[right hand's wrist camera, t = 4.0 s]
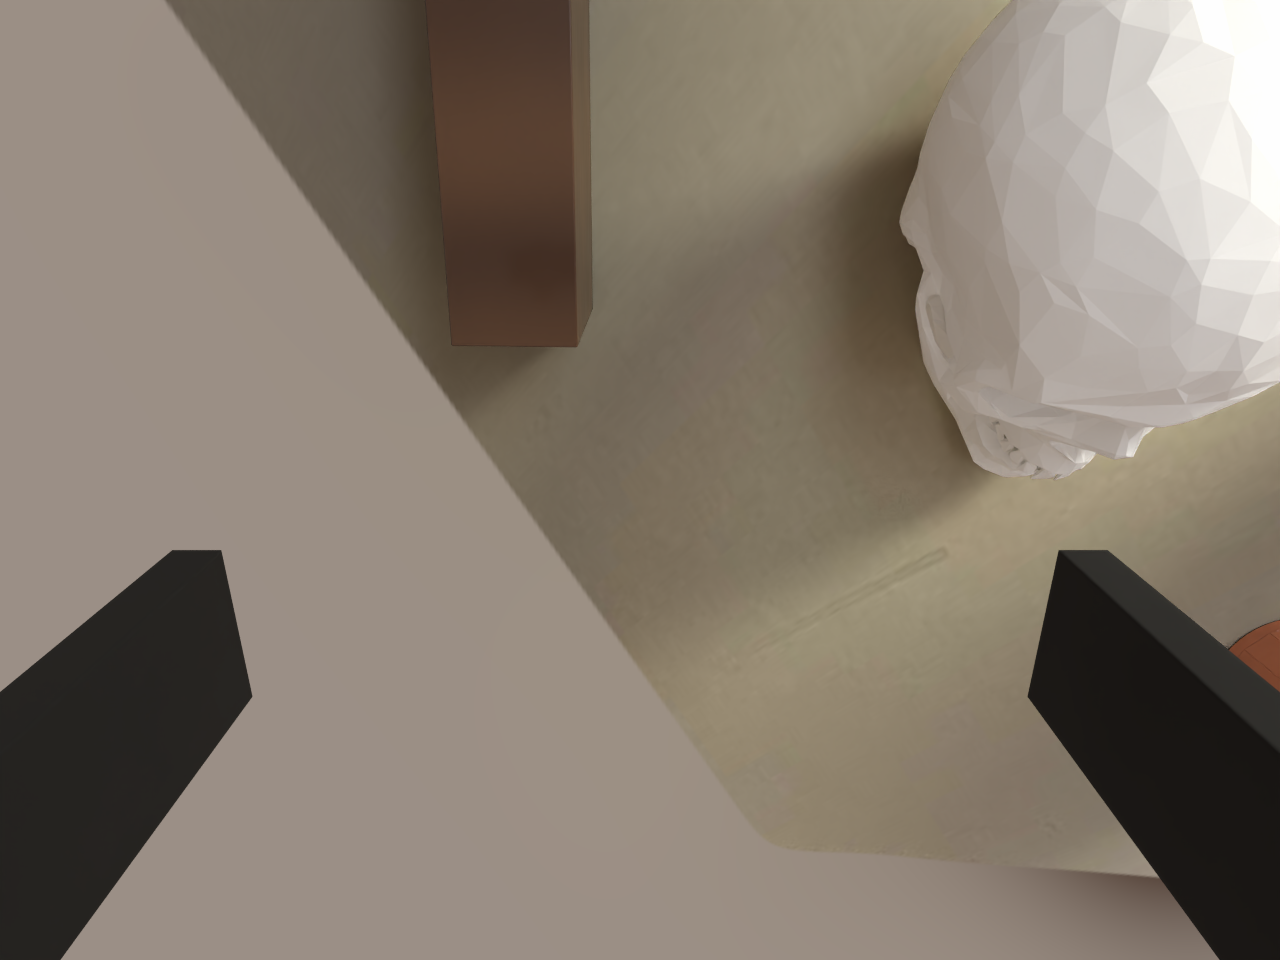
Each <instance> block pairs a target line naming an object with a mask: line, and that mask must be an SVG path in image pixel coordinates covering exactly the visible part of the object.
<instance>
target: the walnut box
mask: <svg viewBox="0 0 1280 960" xmlns="http://www.w3.org/2000/svg"><path fill="white" fill-rule="evenodd" d="M425 5H426V18H427V31H428V44H429V57H430V70H431V84H432V97H433V110H434V123H435V136H436V149H437V162H438V175H439V188H440V201H441V214H442V227H443V240H444V253H445V266H446V279H447V292H448V305H449V318H450V331H451V344H452V345H453V346H520V347H577V346H578V344H579V341H580V339H581V336H582V334H583V331H584V329H585V326H586V324H587V321H588V319H589V316H590V314H591V311H592V309H593V301H592V216H591V132H590V48H589V0H425Z"/></svg>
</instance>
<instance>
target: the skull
mask: <svg viewBox="0 0 1280 960" xmlns="http://www.w3.org/2000/svg"><path fill="white" fill-rule="evenodd" d="M899 223H900V227H901V230H902V233H903V235H904V236H906V238H907V241H908V243H909V244H910V245H912V246H913V247H915V248H916V250H917V253H918V256H919V259H920V262H921V265H922V268H923V270H924V271H923V275H922V278H921V281H920V285H919V288H918V292H917V295H916V306H915V312H916V318H917V325H918V330H919V338H920V344H921V350H922V356H923V362H924V365H925V367H926V369H927V371H928V374H929V376H930V378H931V380H932V382H933V384H934V386H935V388H936V389H937V391H938V392H939V394H940V396H941V397H942V399H943V400H944V402H945V404H946V405H947V407H948V408H949V410H950V412H951V413H952V415H953V416H954V418H955V420H956V422H957V424H958V427H959V429H960V431H961V434H962V436H963V438H964V441H965V443H966V445H967V447H968V450H969V452H970V454H971V457H972V459H973V461H974V462H975V463H976V464H977V465H979V466H980V467H981V468H983V469H985V470H987V471H990V472H992V473H995V474H997V475H1000V476H1003V477H1021V476H1028V475H1032V474H1034V475H1033V476H1032V477H1030V478H1031V479H1050V478H1052V477H1055V474H1057V475H1056V477H1055V478H1054V479H1053V480H1057V479H1060V478H1063V477H1067V476H1069V475H1070V474H1071V473H1072V472H1074V471H1076V470H1080V469H1082V468H1083V467H1084V466H1085V465H1086V464H1087V463H1089V462H1090V461H1091V459H1092V458H1093V457H1094V456H1095V455H1096V454H1097V453H1098V454H1100V455H1103V456H1106V457H1108V458H1111V459H1122V458H1130V457H1133V456H1134V454H1135V452H1136V450H1137V448H1138V446H1139V444H1140V441H1141V439H1142V437H1144V436H1145V435H1146V434H1147V433H1149V432H1150V431H1151V430H1152V429H1154V428H1155V427H1168V426H1173V425H1178V424H1182V423H1185V422H1189V421H1192V420H1195V419H1198V418H1200V417H1203V416H1206V415H1208V414H1211V413H1213V412H1216V411H1218V410H1221V409H1223V408H1226V407H1228V406H1231V405H1233V404H1235V403H1238V402H1240V401H1243V400H1245V399H1248V398H1250V397H1253V396H1255V395H1257V394H1259V393H1260V392H1262V391H1264V390H1266V389H1268V388H1270V387H1272V386H1274V385H1276V384H1277V383H1279V382H1280V0H1012V1H1011V2H1010V3H1009V4H1008V5H1007V6H1006V7H1005V8H1004V9H1003V10H1002V11H1001V12H1000V13H999V14H998V15H997V16H996V17H995V18H994V19H993V21H992V22H991V23H990V24H989V25H988V27H987V28H986V29H985V30H984V31H983V33H982V34H981V35H980V36H979V38H978V39H977V40H976V41H975V42H974V44H973V45H972V46H971V47H970V49H969V50H968V51H967V52H966V54H965V55H964V57H963V58H962V60H961V61H960V63H959V64H958V66H957V68H956V69H955V71H954V72H953V74H952V76H951V77H950V79H949V81H948V83H947V86H946V88H945V90H944V92H943V94H942V96H941V99H940V101H939V103H938V105H937V107H936V110H935V112H934V114H933V116H932V119H931V121H930V124H929V126H928V129H927V133H926V136H925V139H924V142H923V145H922V149H921V152H920V156H919V162H918V167H917V170H916V173H915V176H914V178H913V181H912V183H911V185H910V188H909V191H908V194H907V196H906V199H905V202H904V205H903V208H902V210H901V215H900V221H899ZM1004 434H1005V435H1004Z"/></svg>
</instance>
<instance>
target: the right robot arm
mask: <svg viewBox="0 0 1280 960" xmlns="http://www.w3.org/2000/svg"><path fill="white" fill-rule="evenodd" d="M251 698H252V693H251V688H250V683H249V679H248V674H247V669H246V664H245V660H244V655H243V650H242V646H241V641H240V636H239V631H238V627H237V622H236V617H235V613H234V608H233V603H232V599H231V594H230V589H229V584H228V580H227V575H226V570H225V566H224V561H223V556H222V552H221V550H172V551H171V552H170V553H168V554H167V555H166V556H165V557H164V558H162V559H161V560H160V561H159V562H158V563H156V564H155V565H154V566H153V567H152V568H150V569H149V570H148V571H147V572H145V573H144V574H143V575H142V576H141V577H139V578H138V579H137V580H136V581H135V582H133V583H132V584H131V585H130V586H128V587H127V588H126V589H125V590H124V591H122V592H121V593H120V594H119V595H117V596H116V597H115V598H114V599H113V600H111V601H110V602H109V603H108V604H107V605H105V606H104V607H103V608H102V609H100V610H99V611H98V612H97V613H96V614H94V615H93V616H92V617H91V618H90V619H88V620H87V621H86V622H85V623H83V624H82V625H81V626H80V627H79V628H77V629H76V630H75V631H74V632H73V633H71V634H70V635H69V636H68V637H66V638H65V639H64V640H63V641H62V642H60V643H59V644H58V645H57V646H56V647H54V648H53V649H52V650H51V651H49V652H48V653H47V654H46V655H45V656H43V657H42V658H41V659H40V660H39V661H37V662H36V663H35V664H34V665H32V666H31V667H30V668H29V669H28V670H26V671H25V672H24V673H23V674H21V675H20V676H19V677H18V678H17V679H15V680H14V681H13V682H12V683H11V684H9V685H8V686H7V687H6V688H5V689H3V690H2V691H1V692H0V960H61V958H62V957H63V956H64V954H65V953H66V951H67V950H68V949H69V947H70V946H71V945H72V943H73V942H74V940H75V939H76V938H77V936H78V935H79V934H80V932H81V931H82V929H83V928H84V927H85V925H86V924H87V923H88V921H89V920H90V919H91V917H92V916H93V914H94V913H95V912H96V910H97V909H98V908H99V906H100V905H101V903H102V902H103V901H104V899H105V898H106V897H107V895H108V894H109V892H110V891H111V890H112V888H113V887H114V886H115V884H116V883H117V881H118V880H119V879H120V877H121V876H122V875H123V873H124V872H125V870H126V869H127V868H128V866H129V865H130V864H131V862H132V861H133V860H134V858H135V857H136V855H137V854H138V853H139V851H140V850H141V849H142V847H143V846H144V844H145V843H146V842H147V840H148V839H149V838H150V836H151V835H152V834H153V832H154V831H155V829H156V828H157V827H158V825H159V824H160V823H161V821H162V820H163V818H164V817H165V816H166V814H167V813H168V812H169V810H170V809H171V807H172V806H173V805H174V803H175V802H176V801H177V799H178V798H179V796H180V795H181V794H182V792H183V791H184V790H185V788H186V787H187V786H188V784H189V783H190V781H191V780H192V779H193V777H194V776H195V774H196V773H197V772H198V770H199V769H200V768H201V766H202V765H203V764H204V762H205V761H206V759H207V758H208V757H209V755H210V754H211V753H212V751H213V750H214V748H215V747H216V746H217V744H218V743H219V742H220V740H221V739H222V737H223V736H224V735H225V733H226V732H227V731H228V729H229V728H230V727H231V725H232V724H233V722H234V721H235V720H236V718H237V717H238V716H239V714H240V713H241V712H242V710H243V709H244V707H245V706H246V705H247V703H248V702H249V701H250V699H251ZM1028 698H1029V699H1030V701H1031V702H1032V703H1033V705H1034V706H1035V707H1036V709H1037V710H1038V712H1039V713H1040V714H1041V716H1042V717H1043V718H1044V720H1045V721H1046V722H1047V724H1048V725H1049V727H1050V728H1051V729H1052V731H1053V732H1054V733H1055V735H1056V736H1057V738H1058V739H1059V740H1060V742H1061V743H1062V744H1063V746H1064V747H1065V749H1066V750H1067V751H1068V753H1069V754H1070V755H1071V757H1072V758H1073V760H1074V761H1075V762H1076V764H1077V765H1078V766H1079V768H1080V769H1081V770H1082V772H1083V773H1084V775H1085V776H1086V777H1087V779H1088V780H1089V781H1090V783H1091V784H1092V786H1093V787H1094V788H1095V790H1096V791H1097V792H1098V794H1099V795H1100V797H1101V798H1102V799H1103V801H1104V802H1105V803H1106V805H1107V806H1108V807H1109V809H1110V810H1111V812H1112V813H1113V814H1114V816H1115V817H1116V818H1117V820H1118V821H1119V823H1120V824H1121V825H1122V827H1123V828H1124V829H1125V831H1126V832H1127V834H1128V835H1129V836H1130V838H1131V839H1132V840H1133V842H1134V843H1135V844H1136V846H1137V847H1138V849H1139V850H1140V851H1141V853H1142V854H1143V855H1144V857H1145V858H1146V860H1147V861H1148V862H1149V864H1150V865H1151V866H1152V868H1153V869H1154V871H1155V872H1156V873H1157V875H1158V876H1159V877H1160V879H1161V880H1162V882H1163V883H1164V884H1165V886H1166V887H1167V888H1168V890H1169V891H1170V892H1171V894H1172V895H1173V897H1174V898H1175V899H1176V901H1177V902H1178V903H1179V905H1180V906H1181V907H1182V909H1183V910H1184V912H1185V913H1186V914H1187V916H1188V917H1189V919H1190V920H1191V921H1192V923H1193V924H1194V925H1195V927H1196V928H1197V929H1198V931H1199V932H1200V934H1201V935H1202V936H1203V938H1204V939H1205V940H1206V942H1207V943H1208V944H1209V946H1210V947H1211V949H1212V950H1213V951H1214V953H1215V954H1216V956H1217V957H1218V958H1219V960H1280V692H1279V691H1278V690H1277V689H1276V688H1274V687H1273V686H1272V685H1271V684H1269V683H1268V682H1267V681H1266V680H1265V679H1263V678H1262V677H1261V676H1260V675H1259V674H1257V673H1256V672H1255V671H1254V670H1252V669H1251V668H1250V667H1249V666H1248V665H1246V664H1245V663H1244V662H1243V661H1242V660H1240V659H1239V658H1238V657H1237V656H1235V655H1234V654H1233V653H1232V652H1231V651H1229V650H1228V649H1227V648H1226V647H1224V646H1223V645H1222V644H1221V643H1220V642H1218V641H1217V640H1216V639H1215V638H1214V637H1212V636H1211V635H1210V634H1209V633H1207V632H1206V631H1205V630H1204V629H1203V628H1201V627H1200V626H1199V625H1198V624H1197V623H1195V622H1194V621H1193V620H1192V619H1190V618H1189V617H1188V616H1187V615H1186V614H1184V613H1183V612H1182V611H1181V610H1180V609H1178V608H1177V607H1176V606H1175V605H1173V604H1172V603H1171V602H1170V601H1169V600H1167V599H1166V598H1165V597H1164V596H1163V595H1161V594H1160V593H1159V592H1158V591H1156V590H1155V589H1154V588H1153V587H1152V586H1150V585H1149V584H1148V583H1147V582H1146V581H1144V580H1143V579H1142V578H1141V577H1139V576H1138V575H1137V574H1136V573H1135V572H1133V571H1132V570H1131V569H1130V568H1129V567H1127V566H1126V565H1125V564H1124V563H1122V562H1121V561H1120V560H1119V559H1118V558H1116V557H1115V556H1114V555H1113V554H1112V553H1110V552H1109V551H1108V550H1059V552H1058V556H1057V561H1056V566H1055V570H1054V575H1053V580H1052V584H1051V589H1050V594H1049V599H1048V603H1047V608H1046V613H1045V617H1044V622H1043V627H1042V631H1041V636H1040V641H1039V646H1038V650H1037V655H1036V660H1035V664H1034V669H1033V674H1032V678H1031V683H1030V688H1029V693H1028Z"/></svg>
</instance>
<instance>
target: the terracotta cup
mask: <svg viewBox="0 0 1280 960" xmlns="http://www.w3.org/2000/svg"><path fill="white" fill-rule="evenodd" d="M1229 651H1231V652H1232V653H1233V654H1234V655H1235V656H1237V657H1238V658H1239V659H1240V660H1242V661H1243V662H1244V663H1245V664H1246V665H1248V666H1249V667H1250V668H1251V669H1252V670H1254V671H1255V672H1256V673H1257V674H1259V675H1260V676H1261V677H1262V678H1263V679H1265V680H1266V681H1267V682H1268V683H1269V684H1271V685H1272V686H1273V687H1274V688H1276V689H1277V690H1278V691H1279V692H1280V620H1278V621H1274V622H1272V623H1269V624H1266V625H1264V626H1261V627H1259V628H1257V629H1255V630H1254V631H1252V632H1250V633H1248V634H1247V635H1245V636H1244V637H1243V638H1241V639H1240V640H1239V641H1238V642H1236V643H1235V644H1234V645H1233V646H1232V647H1231V648H1230V649H1229Z"/></svg>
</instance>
